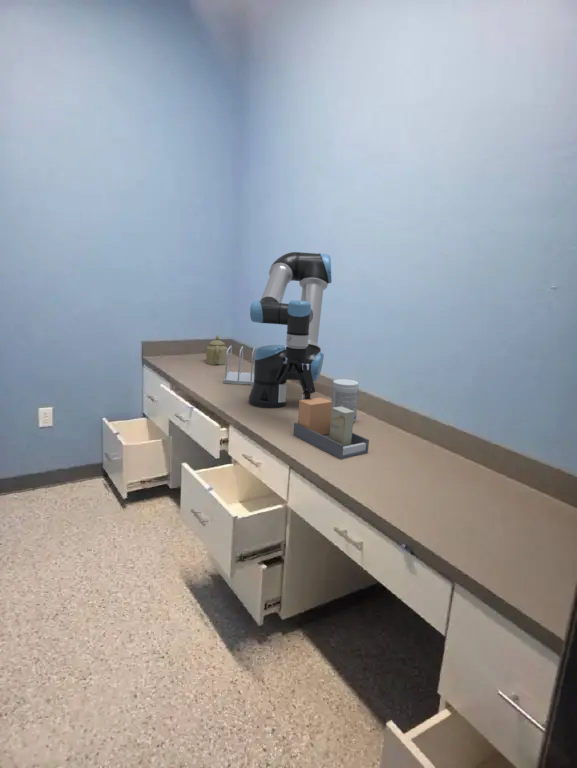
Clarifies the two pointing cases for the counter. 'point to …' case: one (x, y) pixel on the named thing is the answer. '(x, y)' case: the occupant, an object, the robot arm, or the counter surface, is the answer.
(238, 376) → the file sorter
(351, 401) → the supplement tub
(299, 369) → the robot arm
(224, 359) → the sugar bowl
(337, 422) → the skincare box
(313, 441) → the tray
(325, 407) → the block
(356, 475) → the counter surface
